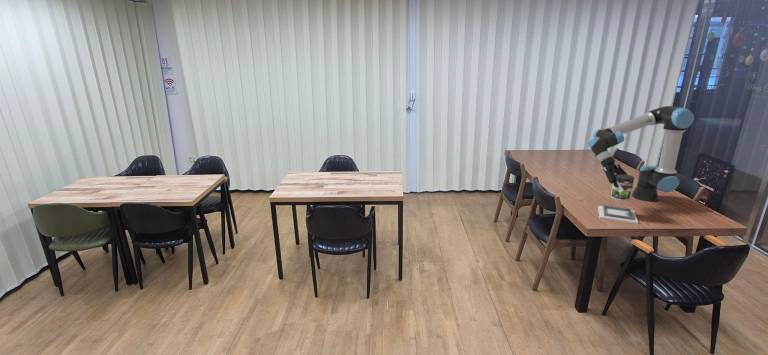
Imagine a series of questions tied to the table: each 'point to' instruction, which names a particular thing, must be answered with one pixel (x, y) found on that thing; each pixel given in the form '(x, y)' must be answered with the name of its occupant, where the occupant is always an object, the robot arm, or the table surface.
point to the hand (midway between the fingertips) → (626, 190)
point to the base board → (617, 214)
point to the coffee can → (626, 184)
